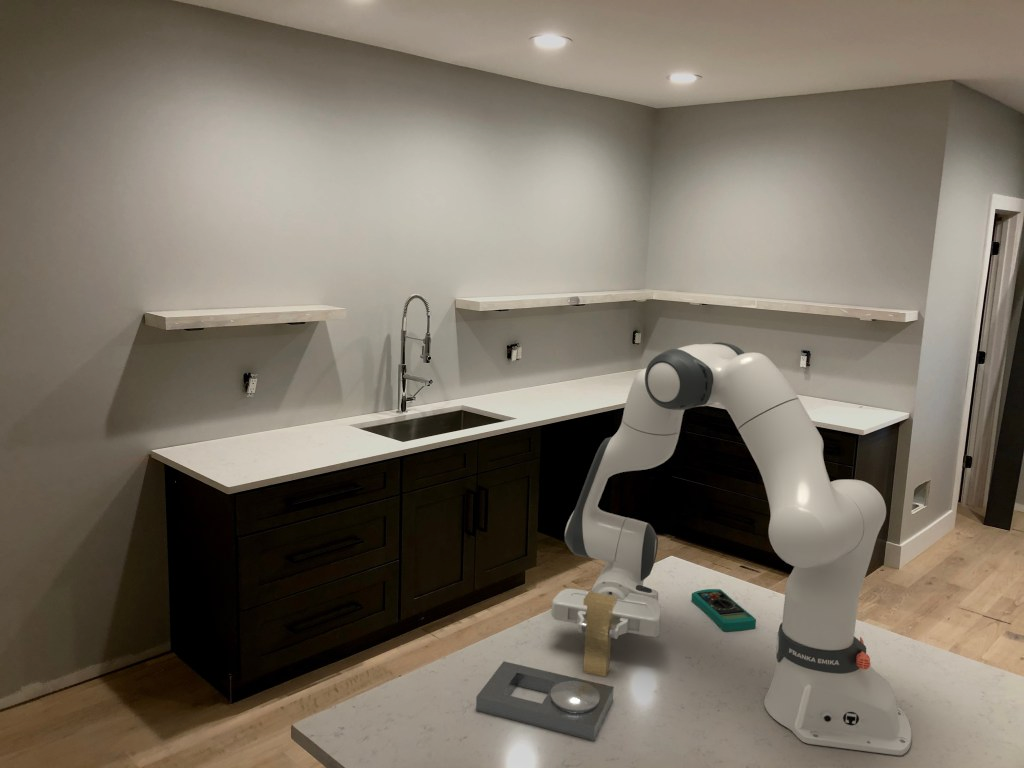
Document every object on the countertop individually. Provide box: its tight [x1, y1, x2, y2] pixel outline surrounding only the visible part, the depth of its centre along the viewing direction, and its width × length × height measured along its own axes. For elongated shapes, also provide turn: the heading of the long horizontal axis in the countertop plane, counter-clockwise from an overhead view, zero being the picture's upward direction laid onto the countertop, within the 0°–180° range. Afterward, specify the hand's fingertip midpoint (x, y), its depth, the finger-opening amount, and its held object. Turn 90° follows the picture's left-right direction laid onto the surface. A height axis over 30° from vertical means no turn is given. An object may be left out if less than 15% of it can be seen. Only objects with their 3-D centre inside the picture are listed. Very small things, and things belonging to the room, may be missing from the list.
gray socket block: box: [475, 660, 615, 742], centre depth 133 cm, size 20×12×3 cm, turn 69°
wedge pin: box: [583, 591, 617, 678], centre depth 143 cm, size 5×4×14 cm
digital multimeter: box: [691, 588, 757, 633], centre depth 167 cm, size 7×15×3 cm, turn 15°
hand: (597, 631), depth 142 cm, fingers closed on wedge pin, 4 cm apart
